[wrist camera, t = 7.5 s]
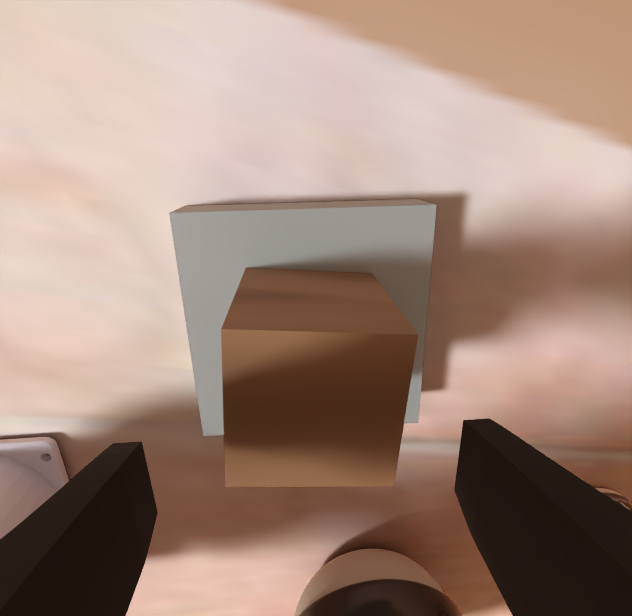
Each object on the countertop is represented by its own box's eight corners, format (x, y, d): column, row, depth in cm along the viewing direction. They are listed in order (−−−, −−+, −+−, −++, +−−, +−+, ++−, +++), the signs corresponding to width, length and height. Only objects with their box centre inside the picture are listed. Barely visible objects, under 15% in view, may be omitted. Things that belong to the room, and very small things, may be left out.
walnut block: (359, 381, 17) (393, 486, 12) (245, 379, 17) (225, 487, 11) (372, 273, 16) (418, 334, 10) (245, 267, 15) (221, 329, 10)
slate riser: (400, 388, 21) (418, 422, 19) (214, 398, 21) (203, 436, 18) (413, 197, 18) (436, 204, 15) (188, 204, 17) (169, 212, 14)
